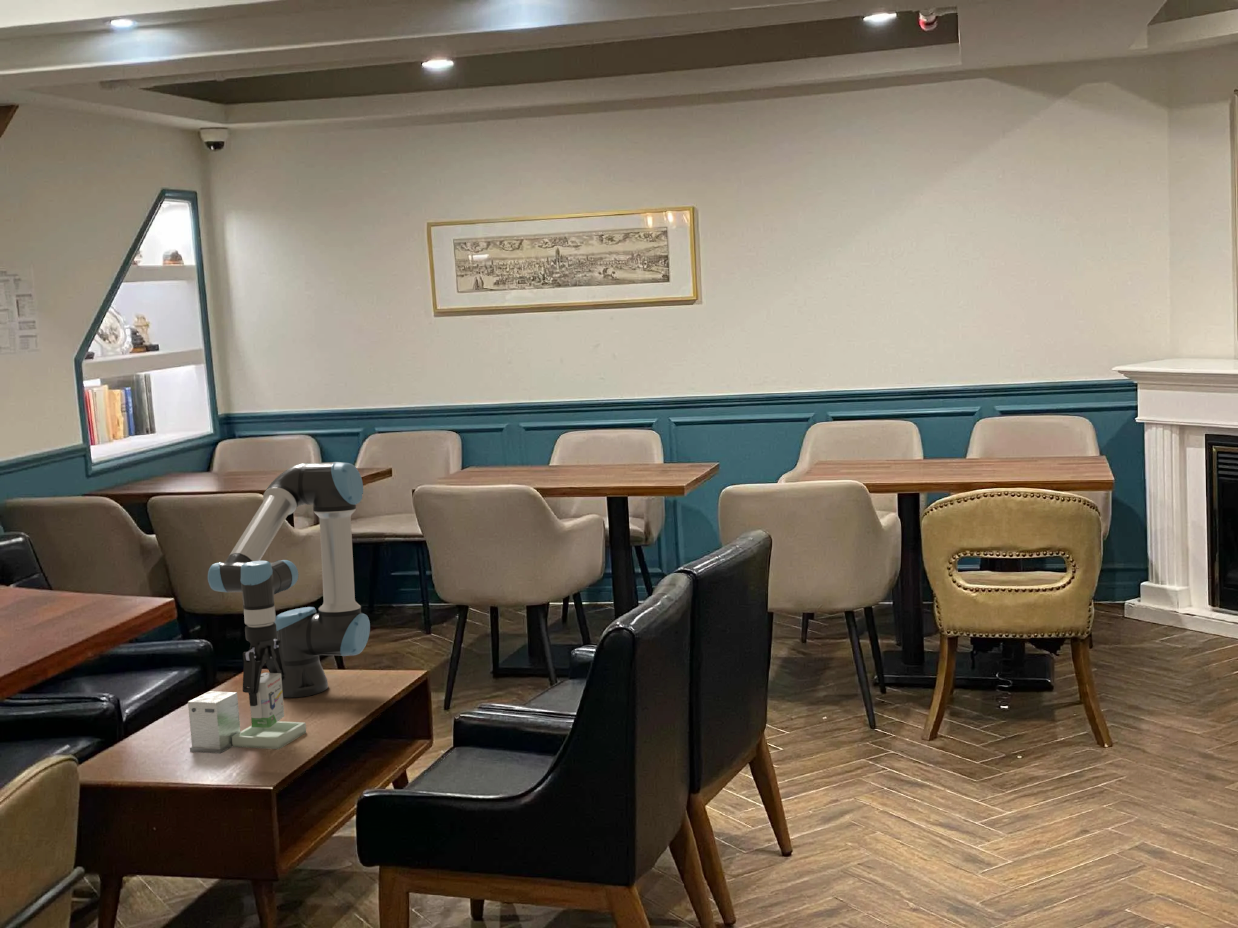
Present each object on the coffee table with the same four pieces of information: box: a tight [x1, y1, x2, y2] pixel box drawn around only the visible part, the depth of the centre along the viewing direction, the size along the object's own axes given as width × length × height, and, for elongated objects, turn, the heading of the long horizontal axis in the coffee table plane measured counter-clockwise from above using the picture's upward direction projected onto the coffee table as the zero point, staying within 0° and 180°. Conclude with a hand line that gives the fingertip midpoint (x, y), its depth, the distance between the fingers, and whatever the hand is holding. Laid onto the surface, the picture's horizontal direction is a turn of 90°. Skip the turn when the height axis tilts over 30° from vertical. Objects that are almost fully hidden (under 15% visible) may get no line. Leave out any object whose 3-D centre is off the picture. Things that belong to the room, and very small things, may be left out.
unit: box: [187, 690, 241, 754], centre depth 326 cm, size 10×9×12 cm
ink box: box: [250, 672, 285, 728], centre depth 329 cm, size 9×5×12 cm, turn 168°
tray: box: [232, 720, 307, 750], centre depth 330 cm, size 13×13×3 cm
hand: (267, 711), depth 329 cm, fingers closed on ink box, 9 cm apart
